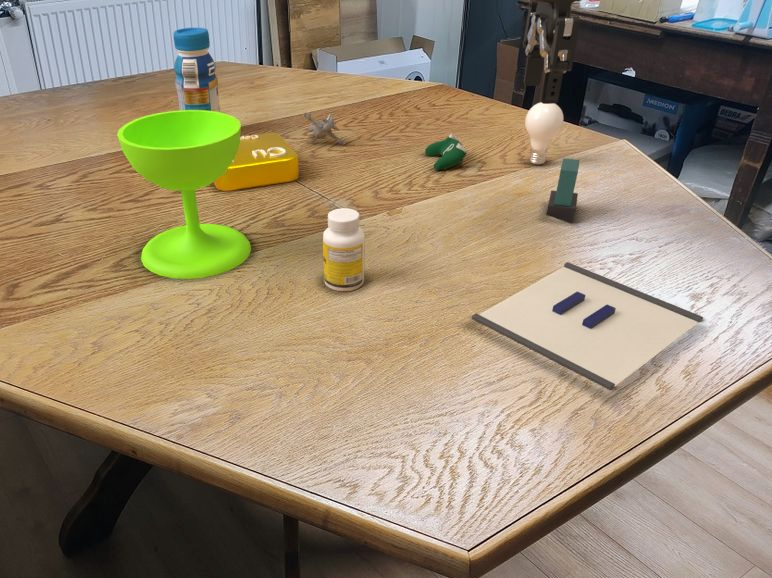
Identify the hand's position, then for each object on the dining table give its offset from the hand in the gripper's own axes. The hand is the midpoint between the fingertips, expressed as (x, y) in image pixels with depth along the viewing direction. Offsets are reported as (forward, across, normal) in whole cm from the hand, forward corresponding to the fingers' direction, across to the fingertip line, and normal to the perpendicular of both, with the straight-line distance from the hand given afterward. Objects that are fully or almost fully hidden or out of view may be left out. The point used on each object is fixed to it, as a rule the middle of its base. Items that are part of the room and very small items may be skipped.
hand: (539, 93), depth 91 cm
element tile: (+20, +25, +42) cm, 53 cm away
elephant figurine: (+20, +40, +30) cm, 53 cm away
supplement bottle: (+20, -15, +27) cm, 37 cm away
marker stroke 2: (+18, -27, -3) cm, 33 cm away
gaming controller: (+20, +28, +7) cm, 35 cm away
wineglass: (+20, -6, +48) cm, 52 cm away
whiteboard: (+20, -27, -2) cm, 33 cm away
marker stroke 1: (+18, -24, 0) cm, 30 cm away
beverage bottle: (+20, +47, +54) cm, 74 cm away
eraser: (+20, +4, -8) cm, 22 cm away
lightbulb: (+20, +26, -9) cm, 34 cm away
